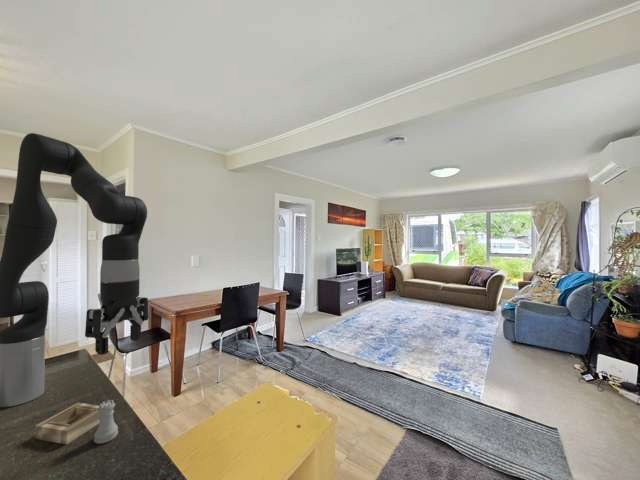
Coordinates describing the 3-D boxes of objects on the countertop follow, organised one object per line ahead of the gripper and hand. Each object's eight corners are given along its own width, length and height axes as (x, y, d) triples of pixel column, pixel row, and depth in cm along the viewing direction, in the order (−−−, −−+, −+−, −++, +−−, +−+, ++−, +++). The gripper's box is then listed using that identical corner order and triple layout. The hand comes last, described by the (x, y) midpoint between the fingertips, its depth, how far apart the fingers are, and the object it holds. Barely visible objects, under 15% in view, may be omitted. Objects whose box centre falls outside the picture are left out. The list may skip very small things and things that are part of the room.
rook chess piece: (98, 447, 59) (98, 411, 59) (90, 439, 61) (90, 404, 61) (121, 435, 63) (122, 401, 63) (113, 428, 65) (113, 395, 65)
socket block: (35, 438, 62) (35, 425, 62) (77, 413, 71) (77, 402, 71) (66, 444, 60) (67, 430, 60) (106, 418, 69) (106, 406, 69)
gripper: (132, 274, 72) (132, 335, 72) (75, 282, 58) (74, 358, 58) (157, 275, 71) (156, 337, 71) (105, 283, 57) (104, 361, 57)
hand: (119, 346), depth 64 cm, fingers open, 8 cm apart
